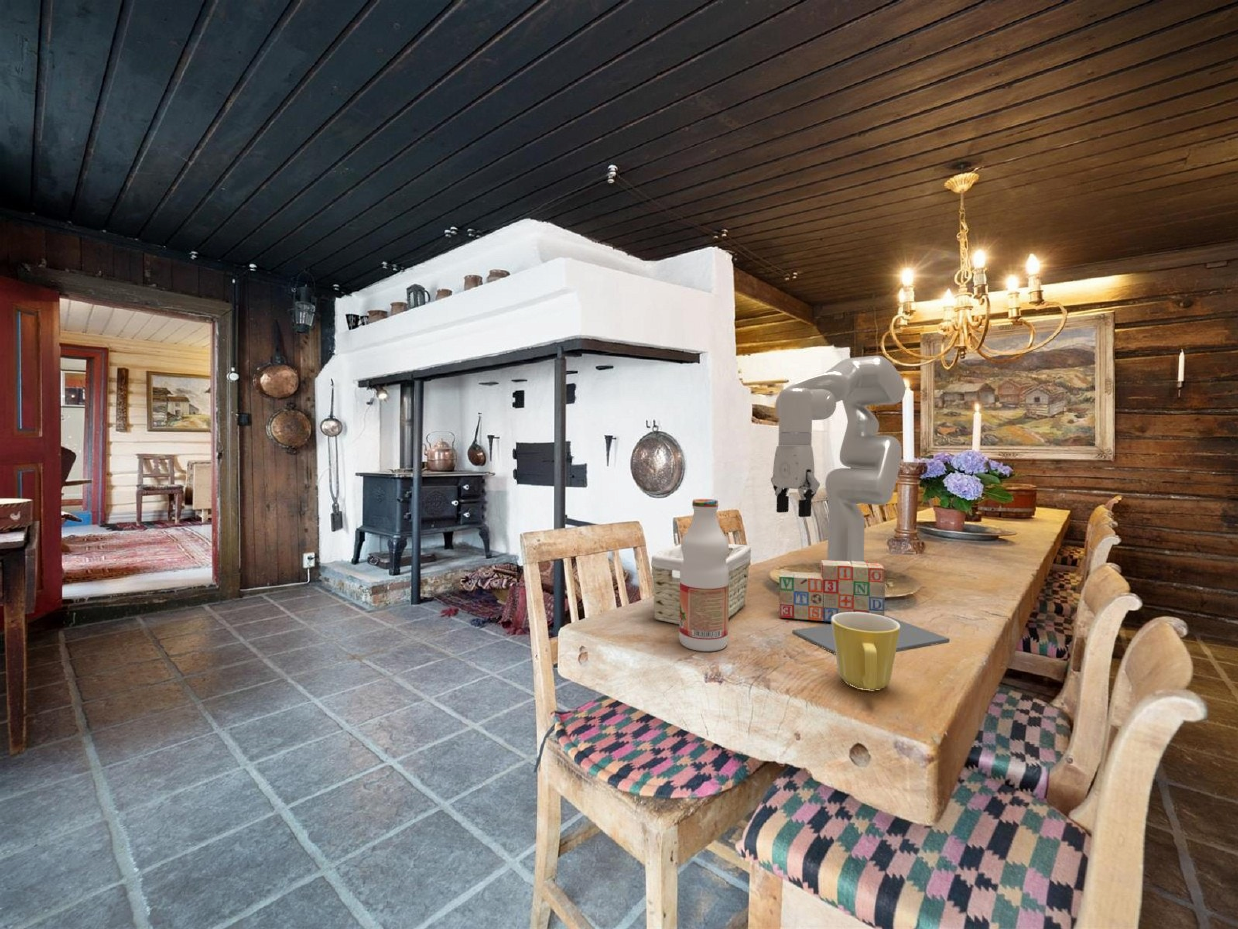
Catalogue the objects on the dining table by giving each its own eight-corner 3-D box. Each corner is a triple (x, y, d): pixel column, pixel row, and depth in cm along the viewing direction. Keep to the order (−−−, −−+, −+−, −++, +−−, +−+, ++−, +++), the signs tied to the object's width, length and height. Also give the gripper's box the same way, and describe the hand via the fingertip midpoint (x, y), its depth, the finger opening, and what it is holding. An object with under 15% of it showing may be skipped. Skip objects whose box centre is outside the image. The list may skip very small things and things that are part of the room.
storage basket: (690, 595, 141) (691, 538, 141) (753, 605, 133) (754, 544, 133) (647, 622, 121) (647, 554, 120) (718, 636, 113) (719, 563, 112)
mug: (834, 666, 98) (836, 607, 97) (899, 679, 93) (901, 617, 92) (821, 698, 86) (822, 631, 85) (895, 714, 81) (897, 643, 80)
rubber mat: (792, 633, 114) (792, 630, 114) (887, 618, 124) (887, 615, 124) (846, 660, 100) (847, 657, 100) (949, 641, 110) (949, 638, 110)
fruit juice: (708, 656, 101) (710, 504, 100) (669, 642, 108) (670, 499, 107) (737, 643, 108) (740, 500, 107) (699, 631, 115) (700, 496, 113)
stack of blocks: (778, 618, 123) (778, 562, 123) (779, 611, 129) (779, 557, 129) (885, 626, 116) (884, 567, 116) (881, 618, 122) (880, 562, 122)
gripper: (759, 440, 139) (758, 510, 140) (807, 440, 123) (805, 520, 124) (784, 440, 142) (782, 509, 143) (833, 440, 126) (831, 518, 126)
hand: (793, 513), depth 133 cm, fingers open, 7 cm apart
